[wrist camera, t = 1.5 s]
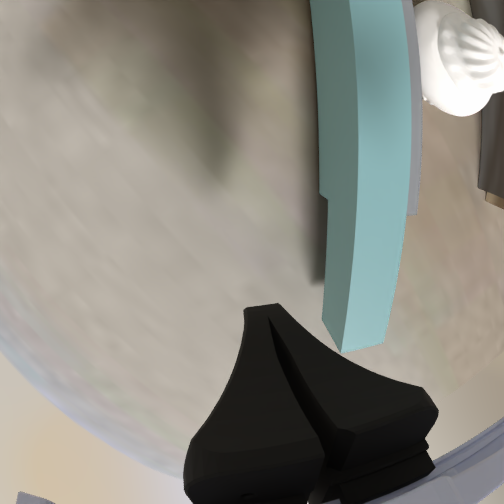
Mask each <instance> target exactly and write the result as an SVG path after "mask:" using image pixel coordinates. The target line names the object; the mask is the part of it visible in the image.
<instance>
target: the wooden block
mask: <svg viewBox="0 0 504 504" xmlns="http://www.w3.org/2000/svg"><path fill="white" fill-rule="evenodd" d="M470 4H471V9H472V14H473V18H474V19H483V20H485V21H486V22H487V23H488V24H491V25H493V26H494V27H495V28H496V29H497V31H498V33H500V34H501V35H502V36H503V37H504V0H470ZM478 188H479V189H482V190H484V191H487V195H486V201H487V202H489V203H491V204H493V205H495V206H498V207H500V208H502V209H504V91H502V92H497V93H493V94H492V95H491V97H490V99H489V101H488V103H487V104H486V105H485V106H484V107H483V108H482V144H481V161H480V173H479V182H478Z"/></svg>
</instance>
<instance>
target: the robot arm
mask: <svg viewBox="0 0 504 504" xmlns="http://www.w3.org/2000/svg"><path fill="white" fill-rule="evenodd" d="M243 312H244V331H243V337H242V342H241V346H240V350H239V353H238V357H237V360H236V363H235V366H234V369H233V372H232V374H231V376H230V379H229V381H228V383H227V385H226V387H225V389H224V392H223V394H222V395H221V397H220V399H219V401H218V403H217V404H216V406H215V407H214V409H213V411H212V412H211V414H210V415H209V417H208V418H207V420H206V421H205V423H204V424H203V425H202V427H201V428H200V429H199V430H198V432H197V433H196V434H195V436H194V437H193V438H192V439H191V442H190V445H189V448H188V451H187V455H186V459H185V464H184V472H183V479H184V490H185V493H186V495H187V496H188V498H189V499H190V500H191V502H192V503H193V504H307V502H308V503H309V504H477V503H478V502H480V501H481V500H482V499H483V498H485V497H486V496H488V495H489V494H490V493H491V492H493V491H494V490H495V489H497V488H498V487H499V486H500V485H502V484H503V483H504V417H503V418H502V419H500V420H499V421H497V422H496V423H494V424H493V425H492V426H490V427H489V428H487V429H486V430H484V431H483V432H481V433H480V434H478V435H477V436H475V437H473V438H472V439H471V440H469V441H467V442H465V443H464V444H462V445H460V446H459V447H457V448H455V449H454V450H452V451H450V452H448V453H446V454H445V455H443V456H441V457H439V458H437V459H435V460H433V461H432V460H431V458H430V457H429V455H428V453H427V451H426V450H427V449H428V448H429V445H428V443H427V441H426V440H425V437H426V436H427V434H428V433H429V431H430V430H431V428H432V427H433V425H434V424H435V422H436V420H437V417H438V413H439V412H438V411H439V410H438V408H437V407H436V405H435V404H434V402H433V401H432V399H431V398H430V396H429V395H428V394H427V393H426V391H425V390H424V389H423V388H422V387H419V386H415V385H411V384H407V383H403V382H399V381H396V380H393V379H390V378H387V377H385V376H382V375H379V374H377V373H374V372H372V371H369V370H367V369H365V368H363V367H361V366H359V365H357V364H355V363H353V362H351V361H349V360H347V359H346V358H344V357H342V356H341V355H339V354H338V353H336V352H334V351H333V350H331V349H330V348H328V347H327V346H326V345H324V344H323V343H322V342H320V341H319V340H318V339H317V338H315V337H314V336H313V335H312V334H311V333H309V332H308V331H307V330H306V329H305V328H304V327H302V326H301V325H300V324H299V323H298V322H297V321H296V320H295V319H294V318H293V317H292V316H291V315H290V314H289V313H288V312H287V311H286V310H285V309H284V308H283V307H282V306H281V305H280V304H279V303H276V304H269V305H262V306H254V307H247V308H245V309H244V310H243ZM16 504H55V503H53V502H51V501H49V500H47V499H44V498H41V497H37V496H34V495H30V494H27V493H24V492H18V497H17V502H16Z"/></svg>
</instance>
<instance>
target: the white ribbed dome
mask: <svg viewBox="0 0 504 504" xmlns="http://www.w3.org/2000/svg"><path fill="white" fill-rule="evenodd" d="M413 9H414V15H415V22H416V29H417V37H418V46H419V56H420V68H421V84H422V99H423V100H426V101H427V102H428V103H429V104H430V105H434V106H436V107H437V108H439V109H440V110H442V111H444V112H446V113H449V114H452V115H455V116H469V115H472V114H474V113H476V112H478V111H480V110H481V109H482V108H483V107H484V106H485V105H486V104H487V103H488V101H489V99H490V97H491V95H492V94H493V93H497V92H502V91H504V37H503V36H502V35H501V34H500V33H498V31H497V29H496V28H495V27H494V26H493V25H491V24H488V23H487V22H486V21H485V20H483V19H474V18H471V17H470V16H469V15H467V14H466V13H465V12H463V11H462V10H461V9H459V8H457V7H455V6H453V5H451V4H448V3H445V2H442V1H436V0H429V1H424V2H421V3H419V4H417V5H416V6H414V7H413Z"/></svg>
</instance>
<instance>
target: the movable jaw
mask: <svg viewBox="0 0 504 504" xmlns="http://www.w3.org/2000/svg"><path fill="white" fill-rule="evenodd" d="M310 7H311V16H312V26H313V38H314V50H315V64H316V80H317V99H318V124H319V194H320V195H322V196H323V197H325V198H326V199H328V224H327V249H326V269H325V285H324V299H323V312H322V321H323V322H324V324H325V326H326V328H327V330H328V331H329V333H330V335H331V337H332V339H333V340H334V342H335V344H336V346H337V348H338V349H339V351H340V353H345V352H350V351H354V350H358V349H362V348H366V347H370V346H374V345H378V344H381V343H383V341H384V337H385V333H386V329H387V325H388V321H389V316H390V312H391V307H392V303H393V298H394V293H395V288H396V282H397V277H398V271H399V265H400V259H401V253H402V246H403V239H404V231H405V223H406V216H410V215H417V209H418V199H419V188H420V175H421V158H422V84H421V68H420V56H419V46H418V37H417V29H416V22H415V15H414V9H413V3H412V0H310Z"/></svg>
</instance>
